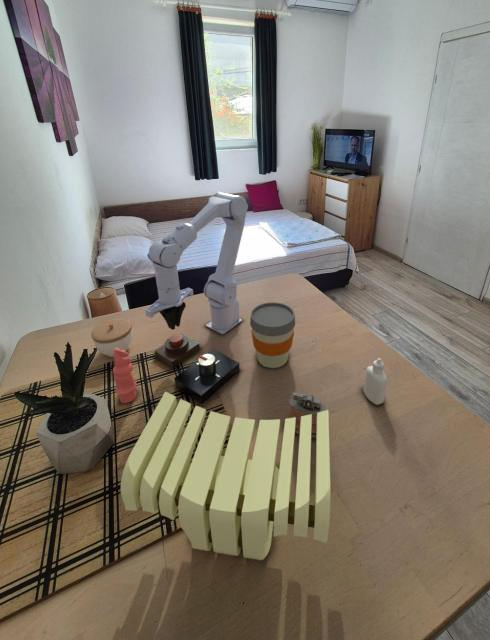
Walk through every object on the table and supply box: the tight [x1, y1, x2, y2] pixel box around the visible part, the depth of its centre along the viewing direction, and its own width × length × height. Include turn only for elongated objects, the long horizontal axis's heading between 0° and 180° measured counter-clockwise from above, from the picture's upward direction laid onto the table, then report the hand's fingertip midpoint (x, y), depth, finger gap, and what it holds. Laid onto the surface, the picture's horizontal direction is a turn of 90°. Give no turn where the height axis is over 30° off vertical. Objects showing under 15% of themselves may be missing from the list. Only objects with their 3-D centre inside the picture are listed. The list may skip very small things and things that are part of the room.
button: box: [169, 333, 183, 347], centre depth 95 cm, size 4×4×2 cm
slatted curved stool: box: [120, 391, 331, 561], centre depth 55 cm, size 30×16×18 cm, turn 82°
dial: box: [197, 353, 216, 376], centre depth 85 cm, size 4×4×4 cm
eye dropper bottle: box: [362, 357, 388, 406], centre depth 79 cm, size 4×6×12 cm
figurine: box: [112, 348, 138, 404], centre depth 79 cm, size 5×5×15 cm
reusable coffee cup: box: [249, 301, 296, 369], centre depth 92 cm, size 13×13×15 cm
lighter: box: [288, 392, 327, 439], centre depth 71 cm, size 8×3×10 cm, turn 71°
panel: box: [173, 348, 241, 406], centre depth 86 cm, size 14×10×3 cm
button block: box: [154, 333, 200, 369], centre depth 96 cm, size 10×8×4 cm
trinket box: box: [90, 318, 134, 358], centre depth 96 cm, size 11×11×9 cm
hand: (174, 326), depth 93 cm, fingers closed
